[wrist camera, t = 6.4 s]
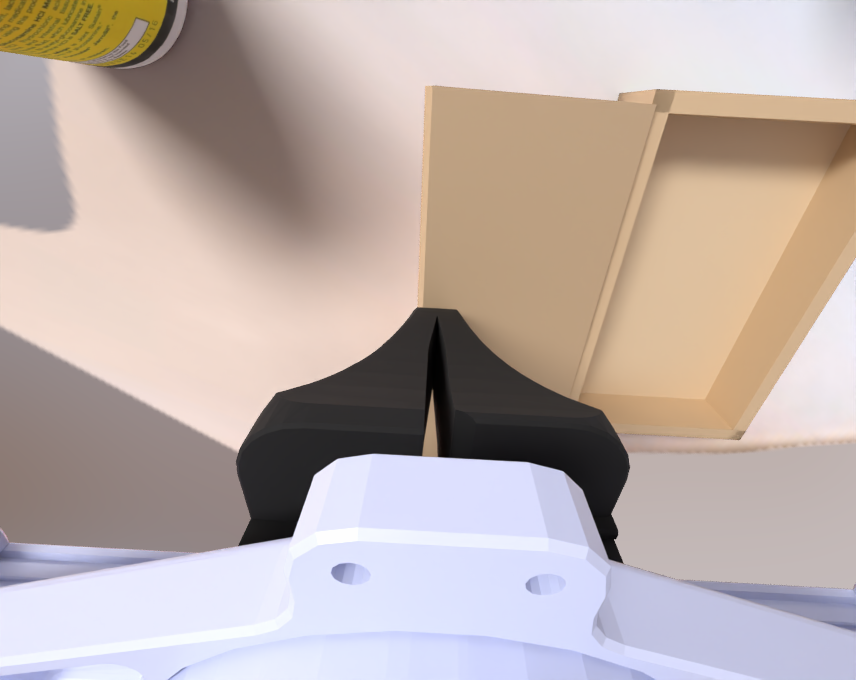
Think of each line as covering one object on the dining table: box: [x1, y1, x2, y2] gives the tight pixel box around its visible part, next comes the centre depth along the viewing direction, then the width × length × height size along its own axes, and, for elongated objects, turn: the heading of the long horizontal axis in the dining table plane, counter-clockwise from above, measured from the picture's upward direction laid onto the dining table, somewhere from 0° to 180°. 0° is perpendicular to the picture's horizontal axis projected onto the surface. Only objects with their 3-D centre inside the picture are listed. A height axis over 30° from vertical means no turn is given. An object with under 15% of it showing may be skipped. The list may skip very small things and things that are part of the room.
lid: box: [418, 86, 657, 457], centre depth 14 cm, size 8×13×1 cm, turn 177°
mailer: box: [569, 89, 856, 440], centre depth 16 cm, size 9×14×3 cm, turn 177°
